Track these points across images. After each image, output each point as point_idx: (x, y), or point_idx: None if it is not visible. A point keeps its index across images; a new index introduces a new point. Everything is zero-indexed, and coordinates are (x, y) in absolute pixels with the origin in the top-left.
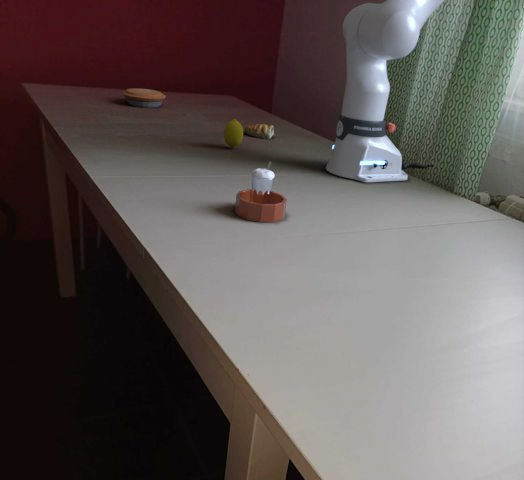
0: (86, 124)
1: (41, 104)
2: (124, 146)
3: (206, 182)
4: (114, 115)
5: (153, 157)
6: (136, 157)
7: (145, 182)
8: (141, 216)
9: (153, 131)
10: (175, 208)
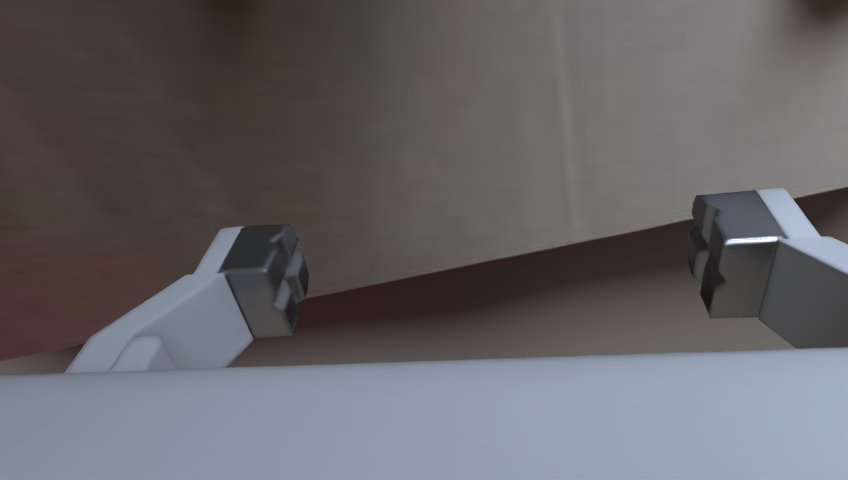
0: (160, 270)
1: (28, 351)
2: (327, 197)
3: (608, 24)
4: (15, 222)
5: (406, 138)
6: (417, 173)
7: (611, 156)
8: (824, 164)
9: (134, 134)
10: (791, 105)
